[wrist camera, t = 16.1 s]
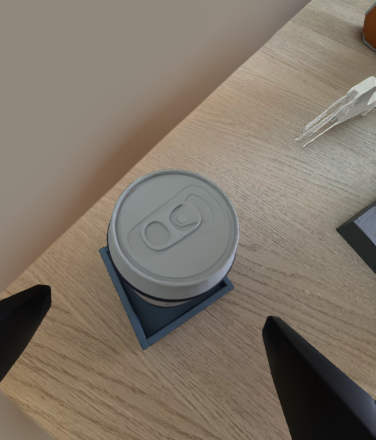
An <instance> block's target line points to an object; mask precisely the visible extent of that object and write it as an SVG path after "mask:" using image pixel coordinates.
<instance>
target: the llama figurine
mask: <svg viewBox="0 0 376 440" xmlns="http://www.w3.org/2000/svg"><path fill="white" fill-rule="evenodd" d="M375 90H376V78H375V77H373V76H371V77H369V78H368V79H366V80H364V81H362V82H361V83H359V84H357V85H355V86H354V87H352V88H351V89H350V90H349V91H348V92H347V94H346V95H345V96H344V97H342V98H340V99H339V100H337V101H335V102H334V103H333V104H332V105H331V106H330V107H329V108H328V109H327V110H326V111H324V112H323V113H321V114H320V115H319V116H318V117H317V118H315V119H314V120H313V121H312V122H310V123H309V124H308V125H307V126H306V124H305V127H302V131H303V134H302V135H301V136H300V137H298V138H296V139H295V140H296V141H297V142H298V141H299V140H300V139H301V138H303V137H304V136H306V135H307V134H309V133H310V132H312V131H313V130H315V129H316V128H317V129H316V130H315V131H317V130H318V129H319V128H321V127H322V126H323V125H324V124H326V123H327V122H328V121H330V122H332V121H334V120H335V119H336V118H337V119H338V121H337V122H336V123H334V124H333V125H332V126H330V127H329V128H328V129H330V128H331V127H333V126H335V125H336V124H340V123H341V122H343V121H345V120H347V119H350V118H352V117H354V116H356V115H358V114H361V115H362V116H365V115H366V114H367V113H368V112H370V111H371V110H372V109H373V108H374V107H375V106H376V92H375ZM341 102H342V103H341ZM339 103H341V104H340V105H339V106H338V107H337V109H336V110H335V112H334V113H333V114H331V115H329V116H328V117H327V118H325V119H324V120H323V121H321V122H320V123H319V124H317V125H316V126H314V127H313V128H311V129H310V130H308V131H307V129H308V128H309V127H311V126H312V125H313V124H314V123H316V122H317V121H318V120H319V119H321V118H322V117H323V116H324V115H325V113H326V112H327V111H329V110H330V109H331V108H333V107H334V106H335V105H337V104H339ZM328 129H326V130H325V131H323V132H322V133H321V134H323V133H324V132H326V131H327V130H328ZM315 131H313V132H312V133H310V134H309V135H308V136H307V137H309V136H311V135H312V134H314V132H315ZM304 132H305V133H304ZM321 134H319V135H318V136H320V135H321ZM318 136H316V137H315V138H317V137H318ZM315 138H313V139H312V140H314V139H315ZM312 140H311V141H312ZM311 141H309V142H308V143H310V142H311ZM308 143H306V144H305V145H304V146H302V147H305V146H306V145H307V144H308Z"/></svg>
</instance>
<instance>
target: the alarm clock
mask: <svg viewBox="0 0 376 440" xmlns="http://www.w3.org/2000/svg"><path fill="white" fill-rule="evenodd" d="M363 33H364V34H363V42H364V43H365V44H367V45H368V46H369V47H370V48H371V49H372V50H374V51H376V2H375V3H374V5H373V6H372V7H371V8H370V9H369V10H368V11H367V12H366V13H365V21H364V27H363Z"/></svg>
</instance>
